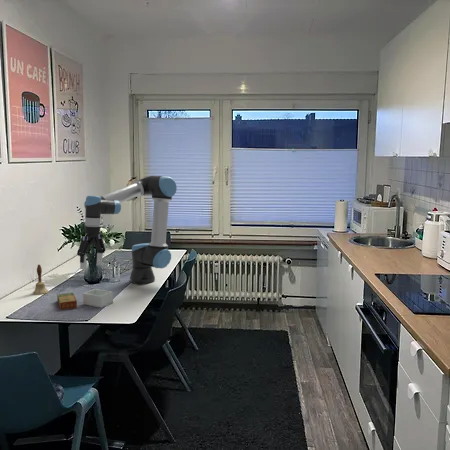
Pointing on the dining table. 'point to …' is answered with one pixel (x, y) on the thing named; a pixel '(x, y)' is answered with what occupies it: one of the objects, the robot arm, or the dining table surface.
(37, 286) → the hand bell
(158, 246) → the robot arm
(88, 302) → the crate
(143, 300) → the dining table surface
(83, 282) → the dining table surface
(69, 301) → the carton
